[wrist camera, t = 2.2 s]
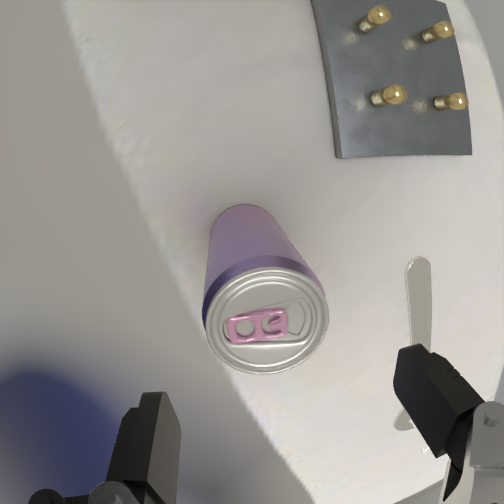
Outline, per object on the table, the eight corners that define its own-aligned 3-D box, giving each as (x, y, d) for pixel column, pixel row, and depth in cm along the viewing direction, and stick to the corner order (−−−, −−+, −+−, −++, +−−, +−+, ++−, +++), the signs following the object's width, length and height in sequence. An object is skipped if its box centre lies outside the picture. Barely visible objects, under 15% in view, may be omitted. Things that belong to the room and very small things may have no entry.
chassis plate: (307, -17, 20) (322, -41, 16) (438, 7, 21) (463, -6, 16) (336, 157, 26) (359, 160, 21) (463, 154, 27) (494, 158, 22)
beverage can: (206, 207, 26) (188, 275, 12) (274, 199, 27) (333, 255, 13) (216, 272, 28) (213, 385, 14) (280, 263, 29) (332, 366, 15)
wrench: (392, 433, 41) (394, 437, 40) (380, 269, 30) (384, 272, 30) (434, 412, 41) (436, 415, 40) (441, 243, 30) (445, 246, 30)
